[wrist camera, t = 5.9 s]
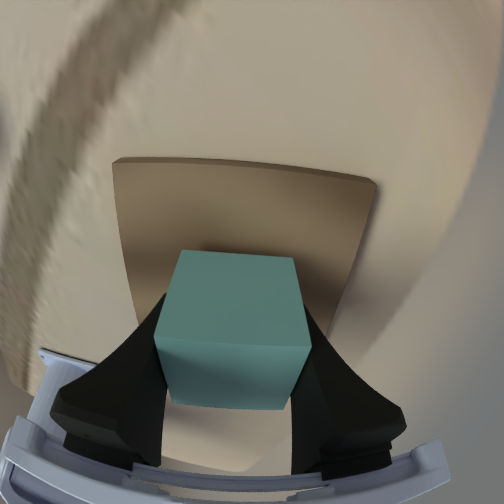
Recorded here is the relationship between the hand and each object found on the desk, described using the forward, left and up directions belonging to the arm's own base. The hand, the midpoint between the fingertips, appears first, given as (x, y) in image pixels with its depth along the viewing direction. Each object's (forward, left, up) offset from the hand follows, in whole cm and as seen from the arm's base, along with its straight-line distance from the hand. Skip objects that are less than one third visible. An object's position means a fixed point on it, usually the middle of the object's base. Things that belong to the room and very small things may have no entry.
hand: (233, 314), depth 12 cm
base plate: (0, 0, -3) cm, 3 cm away
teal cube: (0, 0, -2) cm, 2 cm away
